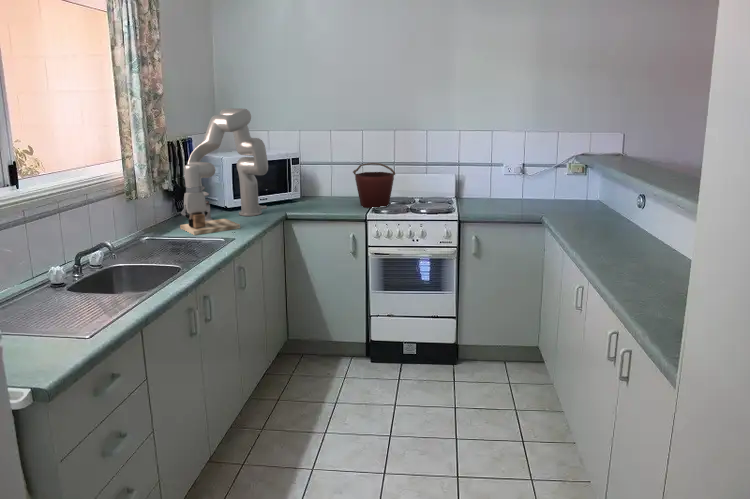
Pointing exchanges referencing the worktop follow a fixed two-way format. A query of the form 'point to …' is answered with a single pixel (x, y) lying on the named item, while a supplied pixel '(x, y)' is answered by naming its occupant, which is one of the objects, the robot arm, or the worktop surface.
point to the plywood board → (212, 227)
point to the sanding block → (198, 220)
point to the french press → (208, 216)
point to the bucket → (374, 187)
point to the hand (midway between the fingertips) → (197, 225)
